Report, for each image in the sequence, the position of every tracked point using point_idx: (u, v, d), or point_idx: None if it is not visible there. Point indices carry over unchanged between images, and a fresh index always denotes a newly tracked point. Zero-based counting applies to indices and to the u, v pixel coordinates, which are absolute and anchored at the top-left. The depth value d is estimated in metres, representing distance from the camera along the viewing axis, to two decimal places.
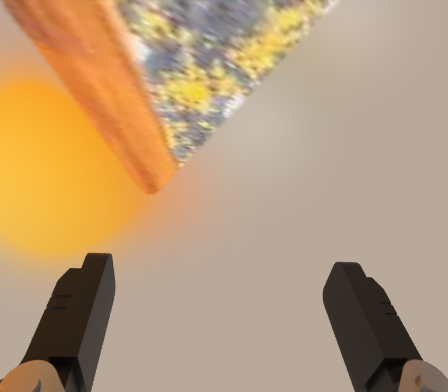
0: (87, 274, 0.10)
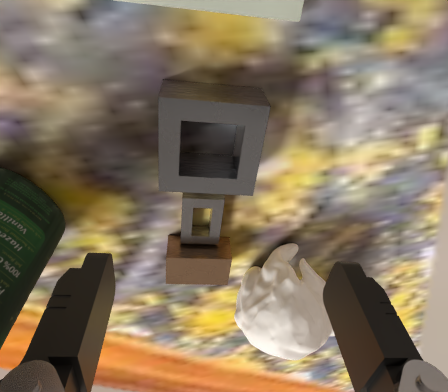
0: (87, 274, 0.10)
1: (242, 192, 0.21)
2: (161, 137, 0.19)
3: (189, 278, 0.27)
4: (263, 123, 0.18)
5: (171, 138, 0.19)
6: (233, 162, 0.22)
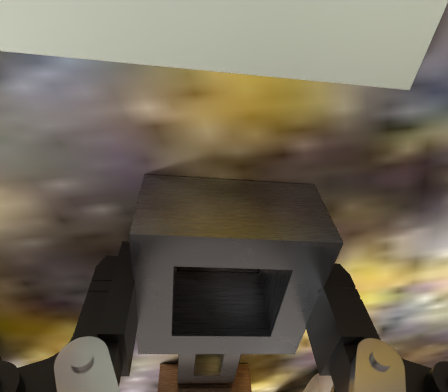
0: (124, 260, 0.11)
1: (278, 350, 0.13)
2: (139, 289, 0.10)
3: None
4: (326, 266, 0.10)
5: (156, 290, 0.10)
6: (261, 291, 0.14)
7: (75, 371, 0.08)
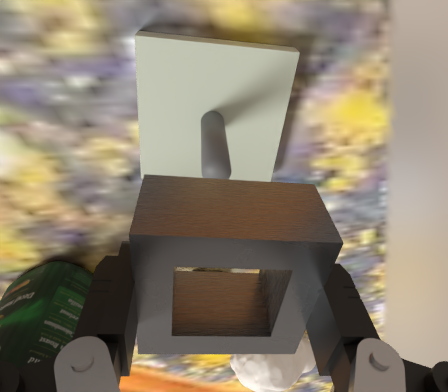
0: (124, 260, 0.11)
1: (277, 350, 0.13)
2: (139, 289, 0.10)
3: None
4: (326, 266, 0.10)
5: (157, 290, 0.10)
6: (261, 292, 0.14)
7: (75, 371, 0.08)
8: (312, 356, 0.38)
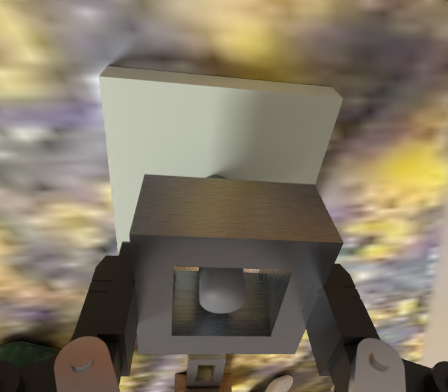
0: (124, 260, 0.11)
1: (278, 350, 0.13)
2: (139, 289, 0.10)
3: None
4: (326, 266, 0.10)
5: (157, 290, 0.10)
6: (261, 291, 0.14)
7: (75, 371, 0.08)
8: None
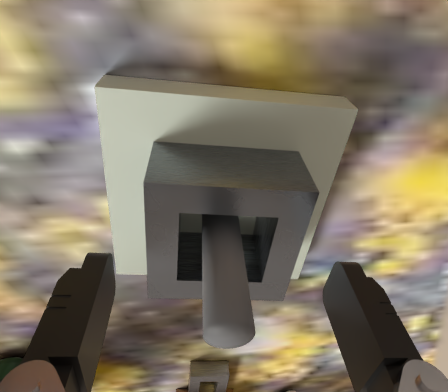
0: (87, 274, 0.10)
1: (268, 297, 0.15)
2: (150, 234, 0.12)
3: None
4: (306, 214, 0.12)
5: (165, 235, 0.12)
6: (254, 248, 0.16)
7: None
8: None
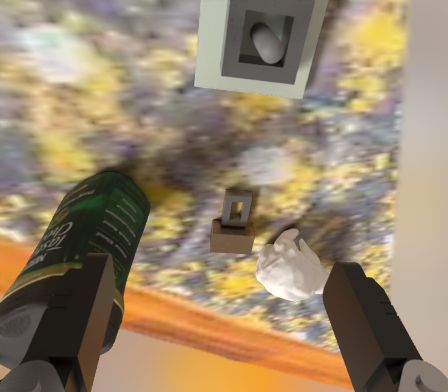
0: (87, 274, 0.10)
1: (286, 80, 0.27)
2: (229, 25, 0.24)
3: (226, 248, 0.40)
4: (308, 15, 0.24)
5: (236, 25, 0.24)
6: None
7: None
8: (327, 278, 0.43)
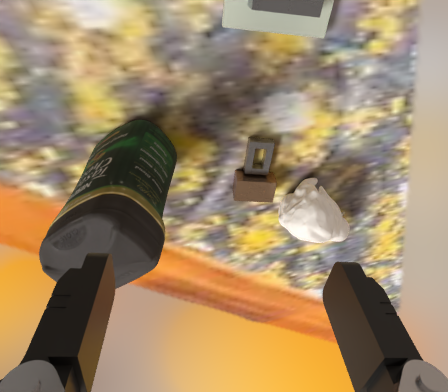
0: (87, 274, 0.10)
1: (312, 13, 0.28)
2: None
3: (249, 196, 0.42)
4: None
5: None
6: None
7: None
8: (346, 225, 0.44)
